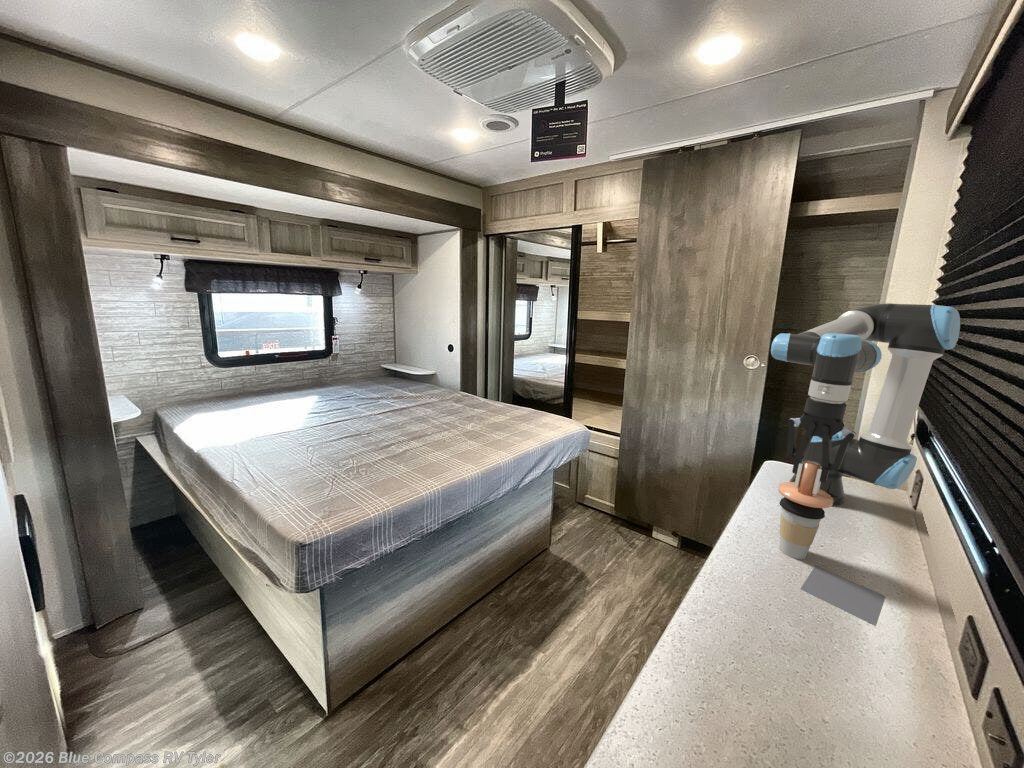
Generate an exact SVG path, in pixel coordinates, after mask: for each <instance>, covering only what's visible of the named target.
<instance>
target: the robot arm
mask: <svg viewBox="0 0 1024 768" xmlns="http://www.w3.org/2000/svg"><path fill="white" fill-rule="evenodd" d="M960 330H961V316H960V313H959V311H958V310H957V308H955V307H953V306H950V305H948V306H946V305H939V304H938V305H937V304H913V303H912V304H909V303H908V304H907V303H906V304H905V303H892V302H891V303H889V302H888V303H887V302H886V303H877V304H872V305H866V306H861V307H857V308H854V309H851V310H849V311H846V312H844V313H842V314H841V315H840V316H839V317H838V318H837V319H835V320H832V321H829V322H827V323H824V324H821V325H818V326H816V327H814V328H813V327H812V328H811V329H808V330H806V331H803V332H800V333H797V334H795V333H790V332H789V333H783V332H782V333H778V335H776V336H775V337H774V338H773V340H772V342H771V348H770V354H771V356H772V358H774V360H778V361H782V362H785V363H788V362H789V363H793V364H800V365H807V366H813V371H812V375H811V378H810V382H809V388H808V393H807V395H808V396H809V397H807V398H806V402H805V405H804V411H803V413H802V415H801V416H800V417H796V418H795V417H791V418H789V419H788V420H787V425H788V428H789V429H788V430H789V431H788V437H787V438H788V439H787V448H786V457H787V458H789V459H791V460H793V466H792V469H791V470H792V474H793V475H792V476H791V478H790V480H789V482H795V484H794V488H798V487H799V482H800V478H801V473H802V469H803V464H804V461H806V460H808V461H814V462H817V463H819V464H820V468H818V470H817V475H816V479H815V483H814V487H813V492H812V494H815V495H816V494H817V493H818V492H819V489H820V490H822V491H824V492H826V493H828V494H829V495H830V496H831V497H832V498H833V505H832V506H836V505H840V504H842V503H844V499H845V491H844V485H843V476H844V475H846V476H850V477H853V478H855V479H858V480H861V481H864V482H867V483H870V484H873V485H874V486H879V487H881V488H886V489H889V490H896V489H898V488H900V487H901V486H903V485H904V483H906V481H908V479H909V478H910V476H911V474H912V472H913V471H914V468H915V467H916V464H917V460H918V458H917V456H916V455H914V454H913V453H911V452H912V449H913V447H912V446H911V445H910V443H909V442H908V437H909V435H910V431H911V429H912V425H913V423H914V420H915V416H916V414H917V411H918V408H919V405H920V402H921V398H922V395H923V392H924V389H925V386H926V383H927V380H928V378H929V374H930V371H931V368H932V366H933V363H934V361H936V359H939V358H941V357H943V356H944V353H945V350H946V351H948V350H952V349H954V348H955V347H956V346H957V343H958V341H959V337H960ZM874 342H878V343H884V344H885V343H886V344H888V345H887V350H888V352H890V354H891V355H892V356H891V358H890V363H889V365H888V369H887V371H886V375H885V378H884V381H883V385H882V388H881V391H880V394H879V398H878V400H877V404H876V408H875V410H874V413H873V417H872V419H871V423H870V426H869V429H868V431H867V432H865V433H862V434H861V435H860V436H859V439H855V437H856V436H857V433H856V432H855V431H851V430H850V429H848V428H847V427H846V426H845V424H844V417H845V414H846V413H845V412H846V409H847V403H846V402H848V400H849V397H850V393H851V390H852V385H853V379H854V375H855V373H861V372H867V371H869V370H871V369H873V368H875V367H877V365H879V363H880V362H881V360H882V356H883V355H882V350H881V348H880V347H879V346H878V345H877V344H875V343H874ZM801 424H802V426H803V428H804V430H805V434H804V435H803V439H802V442H801V443H800V446H799V448H798V450H797V453H796V449H797V440H798V439H797V438H798V431H799V427H800V426H801Z"/></svg>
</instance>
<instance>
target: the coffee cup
mask: <svg viewBox="0 0 1024 768" xmlns="http://www.w3.org/2000/svg"><path fill="white" fill-rule="evenodd" d="M779 506H780V507H781V508H782V509H781V513H780V522H779V523H780V524H779V540H778V550H779V551H780V553H782V554H783V555H785V556H787V557H789V558H792V559H796V560H806V557H807V555H808V553H809V551H810V548H811V545H813V542H814V539H815V537H816V535H817V532H818V531H819V527H820V522H821V520H822V519H824V518H825V517H826V515H825V513H826V511H825V510H824V508H814V507H809V506H805V505H801V504H798V503H796V502H793V501H791V500H789V499H787V498H785V497H784V496H783V497H782V498H781V499H780V501H779Z"/></svg>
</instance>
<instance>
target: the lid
mask: <svg viewBox="0 0 1024 768" xmlns="http://www.w3.org/2000/svg"><path fill="white" fill-rule="evenodd" d="M818 468H820V464H819V463H817V462H814V461H808V460H806V461H804V464H803V469H802V473H801V478H800V482H799V487H798V488H794V484H795V482H790V481H784V482H783V481H782V482H781V483H780V484H779V485H778V489H777V491H778V493H779V494H780V495H781V496H782V497H783V498H784V497H785V498H787V499H789V500H791V501H793V502H796V503H798V504H801V505H805V506H809V507H814V508H823V509H828V508H829V509H830V508H831V507H832V506H834V505H833V498H832V497H831V496H830V495H829V494H828V493H826V492H824V491H822V490H820V489H819V492H818V493H817V494H816V495H815V494H812V492H813V487H814V483H815V479H816V475H817V470H818Z"/></svg>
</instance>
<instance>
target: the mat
mask: <svg viewBox="0 0 1024 768" xmlns="http://www.w3.org/2000/svg"><path fill="white" fill-rule="evenodd" d="M800 591H803V592H805V593H807V594H809V595H811V596H813V597H815V598H817V599H819V600H821V601H824V602H826V603H827V604H829V605H832V606H834V607H836V608H838V609H839V610H842V611H844V612H846V613H848V614H850V615H852V616H854V617H856V618H858V619H860V620H862V621H864V622H866V623H869V624H871V625H872V626H874V627H876V626H877V623H878V619H879V616H880V613H881V610H882V607H883V604H884V602H885V599H886V595H884V594H882V593H879V592H877V591H876V590H873V589H871V588H869V587H866V586H865V585H861V584H859V583H857V582H854V581H853V580H851V579H848V578H846V577H843V576H841V575H839V574H837V573H835V572H832V571H830V570H828V569H825V568H823V567H821V566H819V565H814V567H813V569H812V570H811V571H810V573H809V575H808V576H807V578H806V580H805V581H804V582H803V584H802V585H801V587H800Z"/></svg>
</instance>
